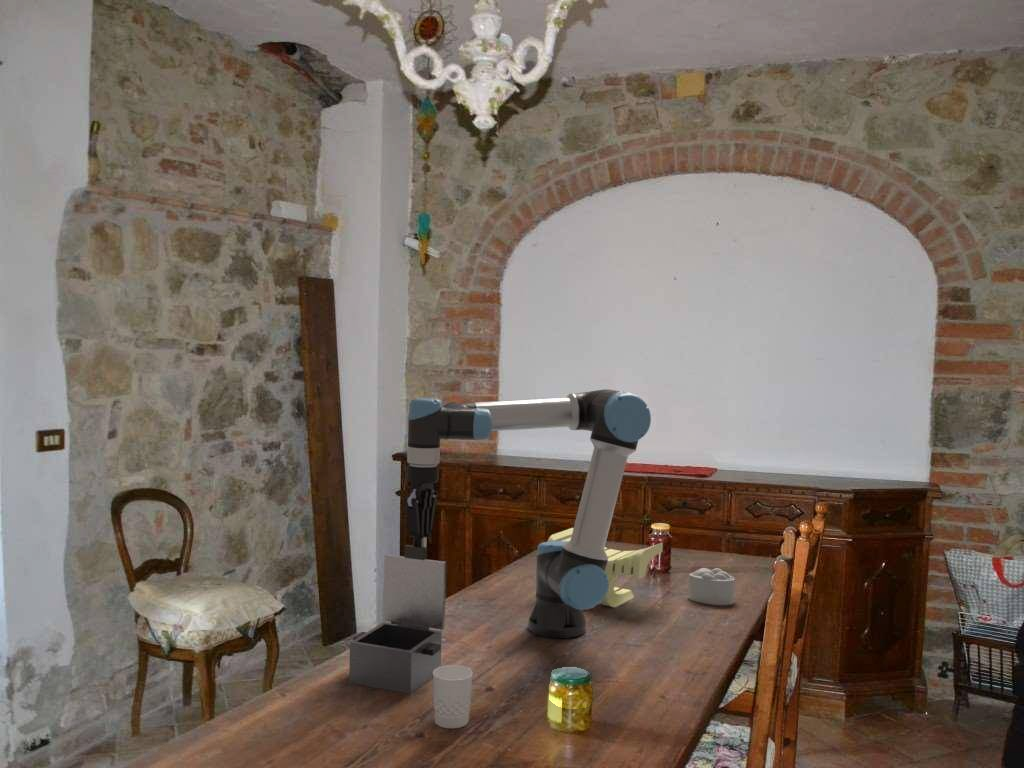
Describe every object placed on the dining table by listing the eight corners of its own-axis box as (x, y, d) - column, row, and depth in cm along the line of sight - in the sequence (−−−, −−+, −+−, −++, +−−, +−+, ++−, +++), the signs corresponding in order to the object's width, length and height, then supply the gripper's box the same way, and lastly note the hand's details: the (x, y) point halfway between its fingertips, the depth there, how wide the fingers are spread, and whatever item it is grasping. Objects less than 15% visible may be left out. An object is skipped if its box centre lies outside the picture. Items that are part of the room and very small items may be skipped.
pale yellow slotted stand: (544, 596, 263) (546, 536, 262) (570, 584, 276) (572, 527, 275) (637, 616, 247) (639, 552, 246) (660, 602, 260) (662, 542, 259)
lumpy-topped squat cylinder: (699, 591, 272) (700, 563, 272) (740, 599, 265) (741, 571, 264) (684, 599, 264) (685, 570, 263) (726, 608, 256) (727, 578, 256)
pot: (450, 671, 203) (451, 632, 202) (420, 696, 189) (421, 654, 188) (373, 658, 210) (374, 620, 209) (339, 681, 195) (340, 640, 195)
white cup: (431, 713, 180) (432, 664, 180) (470, 712, 181) (472, 664, 180) (431, 730, 172) (432, 680, 172) (472, 730, 173) (473, 679, 173)
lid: (442, 632, 203) (445, 630, 204) (444, 550, 202) (447, 549, 204) (382, 623, 208) (386, 621, 210) (384, 543, 208) (388, 542, 209)
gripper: (421, 460, 214) (417, 556, 216) (395, 466, 202) (391, 568, 204) (449, 462, 212) (445, 560, 213) (424, 469, 200) (420, 573, 201)
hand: (419, 564), depth 208 cm, fingers closed
